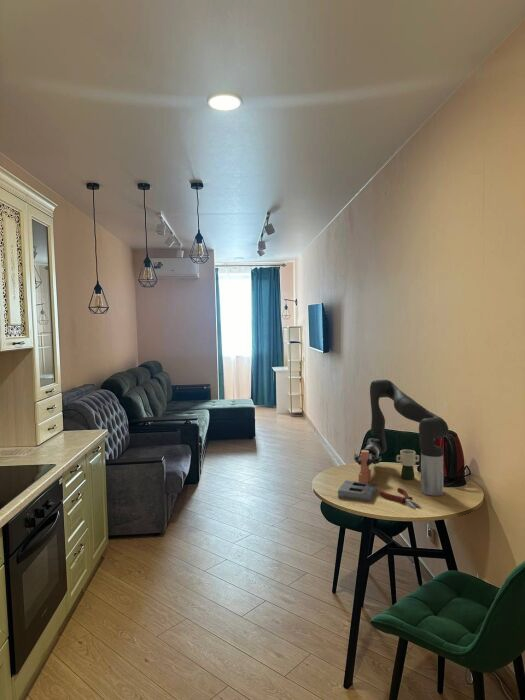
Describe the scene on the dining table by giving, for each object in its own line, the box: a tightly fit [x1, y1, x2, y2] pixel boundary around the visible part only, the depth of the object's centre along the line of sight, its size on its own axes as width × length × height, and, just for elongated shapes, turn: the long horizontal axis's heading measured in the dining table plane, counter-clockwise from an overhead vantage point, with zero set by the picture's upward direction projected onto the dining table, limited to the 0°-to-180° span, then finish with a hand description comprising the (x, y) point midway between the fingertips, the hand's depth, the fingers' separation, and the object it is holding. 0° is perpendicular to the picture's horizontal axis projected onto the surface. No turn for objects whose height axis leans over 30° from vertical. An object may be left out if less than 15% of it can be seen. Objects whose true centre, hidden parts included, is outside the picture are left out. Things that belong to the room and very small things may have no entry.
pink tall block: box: [358, 449, 372, 483], centre depth 218 cm, size 4×9×15 cm, turn 156°
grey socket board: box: [337, 479, 377, 502], centre depth 203 cm, size 14×14×3 cm
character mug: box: [395, 449, 420, 480], centre depth 223 cm, size 11×7×13 cm, turn 87°
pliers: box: [379, 487, 423, 509], centre depth 195 cm, size 12×20×3 cm, turn 19°
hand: (363, 463), depth 215 cm, fingers closed on pink tall block, 3 cm apart
